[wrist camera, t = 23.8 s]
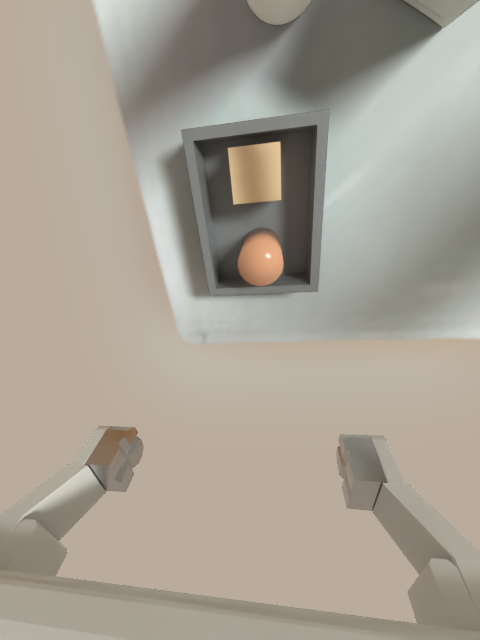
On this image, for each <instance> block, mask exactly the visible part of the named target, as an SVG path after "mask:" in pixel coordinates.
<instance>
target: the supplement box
mask: <svg viewBox="0 0 480 640" xmlns="http://www.w3.org/2000/svg"><path fill="white" fill-rule="evenodd" d="M404 1H405V2H407V3H408V4H410V5H412V6H413V7H414V8H416V9H417V10H419V11H420V12H422V13H423V14H425V15H426V16H428V17H429V18H431V19H432V20H433V21H435V22H436V23H437V24H439V25H440V26H441V27H443V28H444V27H446V26H447V25H449V24H450V23H451V22H453V21H454V20H455V19H456V18H458V17H459V16H460V15H461V14H463V13H464V12H465V11H467V10H468V9H469V8H470V7H472V6H473V5H474V4H475V3H477V2H478V1H479V0H404Z"/></svg>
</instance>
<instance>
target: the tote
mask: <svg viewBox="0 0 480 640" xmlns="http://www.w3.org/2000/svg"><path fill="white" fill-rule="evenodd" d="M329 111H330V109H328V110H321V111H314V112H306V113H299V114H292V115H285V116H277V117H270V118H263V119H256V120H248V121H241V122H234V123H227V124H219V125H212V126H205V127H198V128H190V129H183V130H181V133H182V139H183V144H184V150H185V156H186V162H187V167H188V173H189V179H190V185H191V191H192V196H193V202H194V208H195V214H196V220H197V225H198V231H199V237H200V243H201V249H202V254H203V260H204V266H205V272H206V278H207V283H208V289H209V295H210V296H220V295H245V294H270V293H294V292H318V282H319V267H320V251H321V236H322V220H323V204H324V189H325V173H326V158H327V142H328V126H329ZM272 142H280V145H281V200H276V201H266V202H255V203H244V204H233V195H232V185H231V175H230V165H229V155H228V148H232V147H240V146H248V145H256V144H264V143H272ZM261 227H263V228H268V229H271V230H272V231H274V232H275V233H276V234H277V236H278V237H279V240H280V244H281V250H282V256H283V264H284V265H283V270H282V273H281V275H280V276H279V278H278V279H277V280H276V281H274V282H273V283H271V284H269V285H265V286H256V285H252V284H250V283H248V282H247V281H245V280H244V279H243V278H242V276H241V275H240V272H239V270H238V259H239V255H240V252H241V249H242V245H243V242H244V239H245V237H246V235H247V234H248V233H249V232H250V231H252V230H253V229H256V228H261Z"/></svg>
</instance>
